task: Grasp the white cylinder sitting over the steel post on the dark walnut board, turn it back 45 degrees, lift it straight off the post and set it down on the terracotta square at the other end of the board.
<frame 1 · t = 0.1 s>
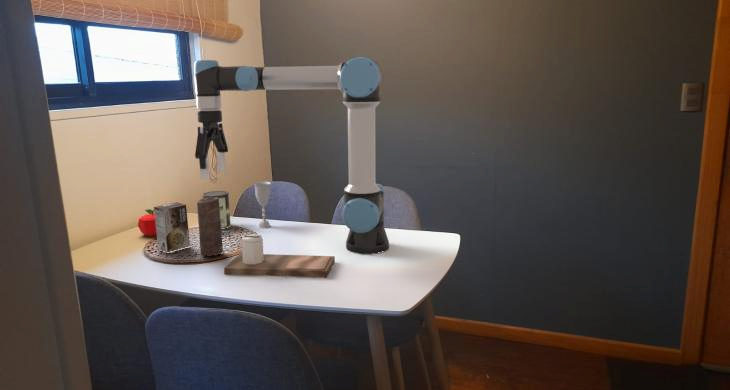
hand: (214, 175, 173), 28 cm above the table, fingers open, 13 cm apart
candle: (212, 256, 180), on the table
white cylinder: (253, 261, 168), point 2 cm above the table, touching post board
apple: (154, 234, 206), on the table
chalice: (264, 227, 215), on the table
coffee can: (217, 227, 215), on the table
post board: (281, 267, 167), on the table
coffee box: (174, 250, 187), on the table
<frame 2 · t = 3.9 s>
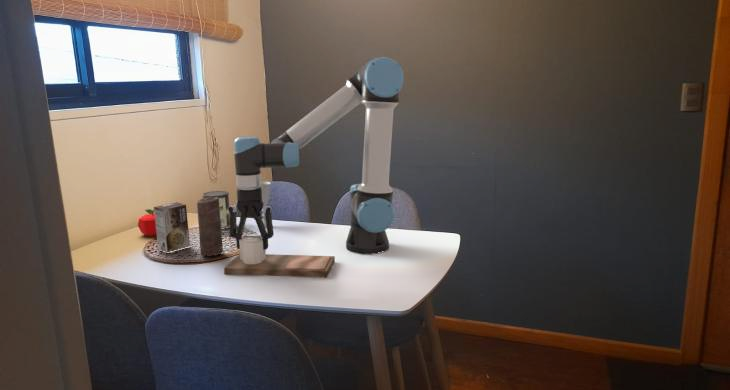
hand: (253, 258, 168), 3 cm above the table, fingers closed on white cylinder, 6 cm apart
white cylinder: (253, 261, 168), point 2 cm above the table, touching gripper, post board
everything else where it was.
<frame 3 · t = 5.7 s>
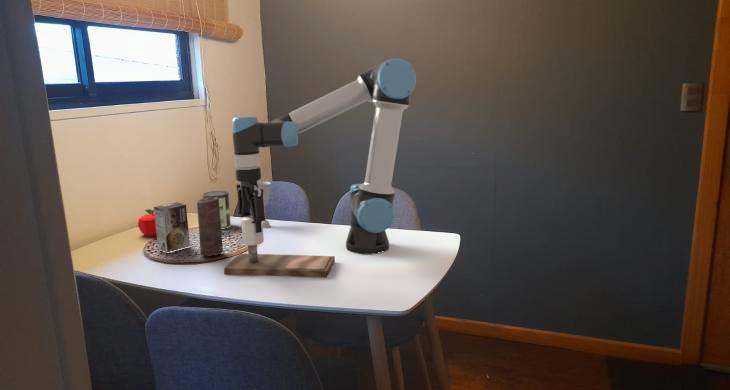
hand: (253, 239, 166), 9 cm above the table, fingers closed on white cylinder, 6 cm apart
white cylinder: (253, 242, 166), point 8 cm above the table, touching gripper
everything else where it was.
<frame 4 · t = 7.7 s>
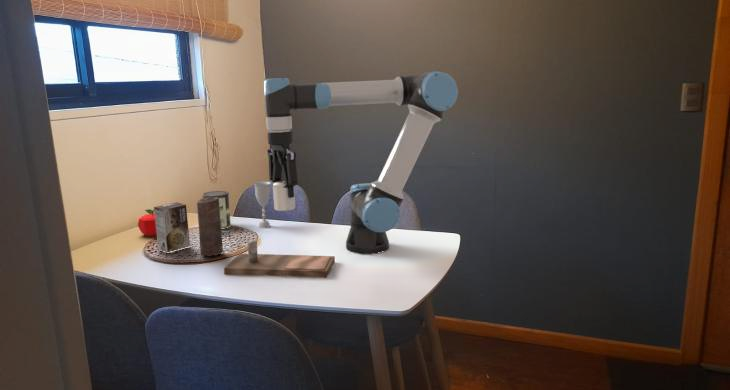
hand: (284, 205, 163), 20 cm above the table, fingers closed on white cylinder, 6 cm apart
white cylinder: (284, 208, 163), point 19 cm above the table, touching gripper
everything else where it was.
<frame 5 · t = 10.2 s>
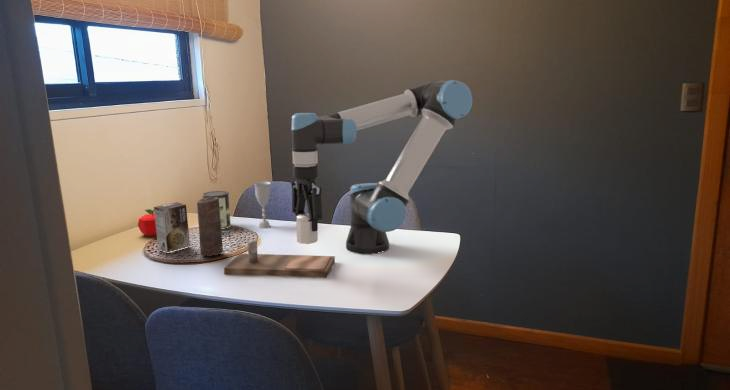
hand: (307, 238, 164), 10 cm above the table, fingers closed on white cylinder, 6 cm apart
white cylinder: (307, 240, 164), point 9 cm above the table, touching gripper
everything else where it was.
when the fingers open (5 cm above the table, at t = 12.0 s): white cylinder drops 2 cm, resting on post board.
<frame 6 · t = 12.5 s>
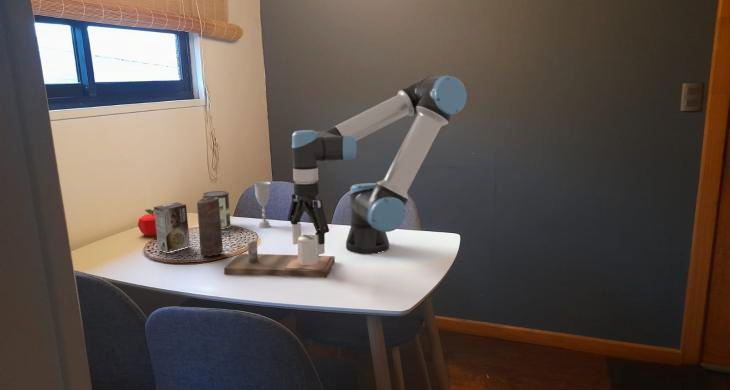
hand: (308, 248, 165), 7 cm above the table, fingers open, 13 cm apart
white cylinder: (308, 261, 166), point 2 cm above the table, touching post board
everything else where it was.
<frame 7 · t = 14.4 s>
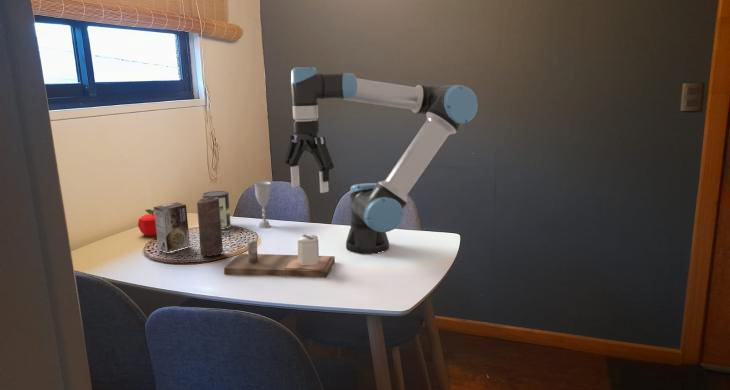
hand: (309, 189, 163), 25 cm above the table, fingers open, 13 cm apart
nothing on the table moved.
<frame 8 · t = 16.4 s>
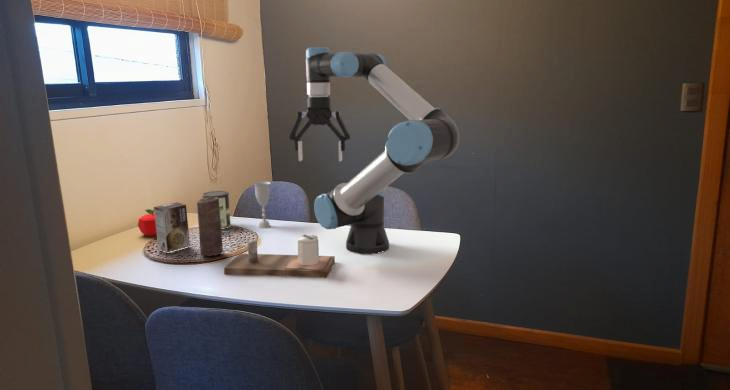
hand: (320, 160, 177), 32 cm above the table, fingers open, 13 cm apart
nothing on the table moved.
at the end: white cylinder inside the target area (0.0 cm from its centre), point 2.3 cm above the table; white cylinder tilted 0°; the gripper is holding nothing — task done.
